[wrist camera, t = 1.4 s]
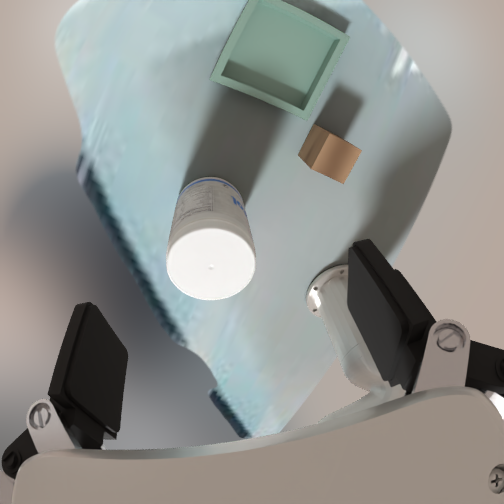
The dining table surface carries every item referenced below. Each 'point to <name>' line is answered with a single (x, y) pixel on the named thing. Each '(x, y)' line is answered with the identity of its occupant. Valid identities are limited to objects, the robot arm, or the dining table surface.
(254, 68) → the rest tray
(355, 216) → the dining table surface
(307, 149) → the walnut block
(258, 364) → the dining table surface
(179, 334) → the dining table surface
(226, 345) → the dining table surface
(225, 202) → the supplement tub
